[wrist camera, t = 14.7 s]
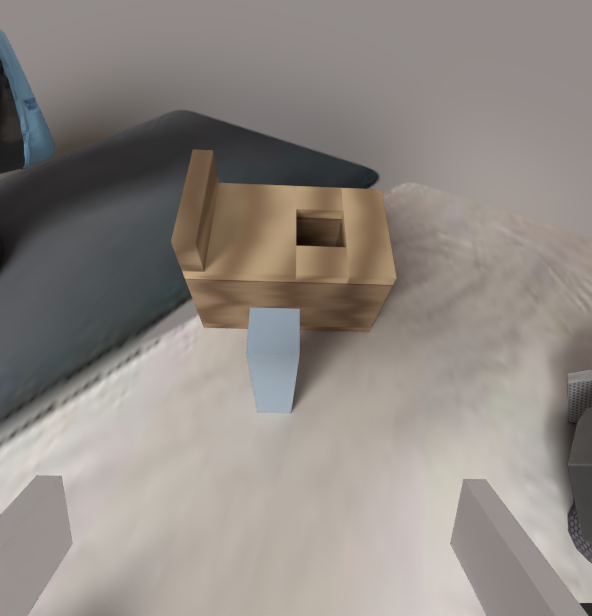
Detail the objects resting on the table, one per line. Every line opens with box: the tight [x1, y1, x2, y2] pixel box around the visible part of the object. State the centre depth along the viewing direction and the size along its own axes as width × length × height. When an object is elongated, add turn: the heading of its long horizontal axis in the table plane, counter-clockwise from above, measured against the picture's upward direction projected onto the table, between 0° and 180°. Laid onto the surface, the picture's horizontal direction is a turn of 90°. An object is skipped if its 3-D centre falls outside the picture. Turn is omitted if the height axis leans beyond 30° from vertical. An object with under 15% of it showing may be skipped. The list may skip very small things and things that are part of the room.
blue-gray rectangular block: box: [246, 308, 300, 413], centre depth 32 cm, size 4×4×16 cm
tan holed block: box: [171, 149, 397, 285], centre depth 35 cm, size 20×12×5 cm, turn 90°
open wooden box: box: [186, 217, 392, 332], centre depth 41 cm, size 20×12×10 cm, turn 90°
